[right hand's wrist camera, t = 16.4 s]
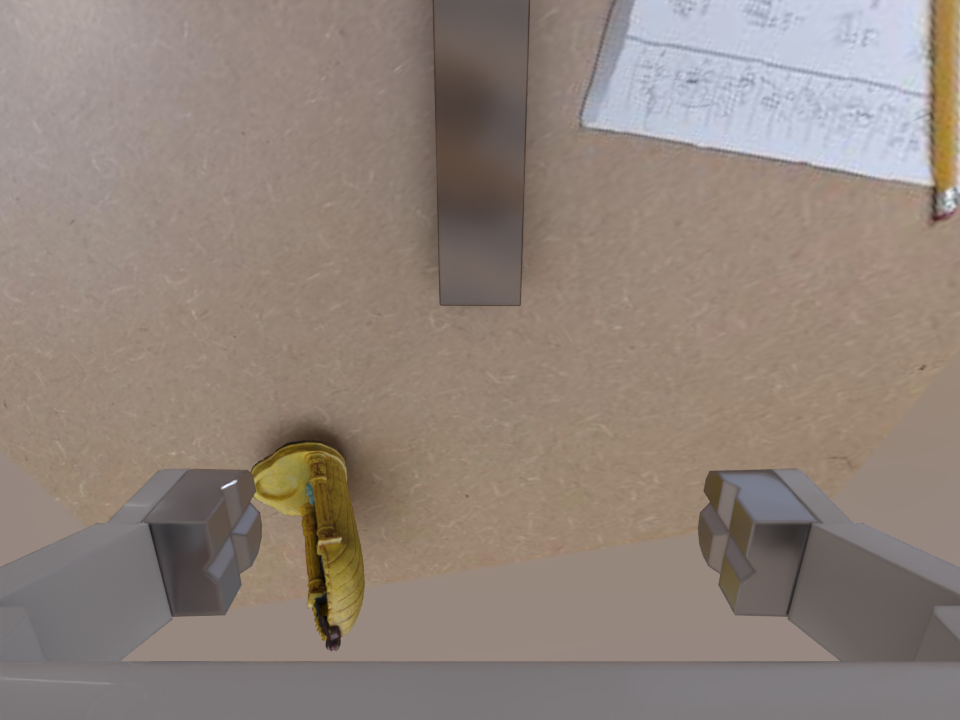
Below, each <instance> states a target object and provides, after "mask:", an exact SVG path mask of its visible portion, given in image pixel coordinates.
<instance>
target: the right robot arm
mask: <svg viewBox="0 0 960 720" xmlns="http://www.w3.org/2000/svg"><path fill="white" fill-rule="evenodd" d="M255 493H256V487H255V482H254V477H253V475H252V474H251V473H250V472H249V471H248V470H224V469H163V470H158V471H157V472H156V473H155V474H154V475H153V476H152V477H151V478H150V479H149V481H148V482H147V483H146V484H145V485H144V486H143V487H142V488H141V489H140V490H139V491H138V492H137V493H136V494H135V495H134V496H133V497H132V498H131V499H130V500H129V501H128V502H127V503H126V504H125V505H124V506H123V507H122V508H121V509H120V510H119V511H118V512H117V513H116V514H115V515H114V516H113V517H112V518H111V519H110V520H109V521H108V522H107V523H96V524H94V525H92V526H90V527H87V528H85V529H83V530H81V531H79V532H76V533H74V534H72V535H70V536H68V537H66V538H63V539H61V540H59V541H57V542H54V543H52V544H50V545H48V546H46V547H43V548H41V549H39V550H37V551H35V552H32V553H30V554H28V555H26V556H24V557H21V558H19V559H17V560H15V561H13V562H10V563H8V564H6V565H4V566H2V567H0V720H960V567H958V566H956V565H954V564H952V563H949V562H947V561H945V560H943V559H941V558H938V557H936V556H934V555H932V554H930V553H927V552H925V551H923V550H921V549H919V548H916V547H914V546H912V545H910V544H908V543H905V542H903V541H901V540H899V539H897V538H894V537H892V536H890V535H888V534H886V533H883V532H881V531H879V530H877V529H875V528H872V527H870V526H868V525H866V524H864V523H853V522H852V521H851V520H850V519H849V518H848V517H847V516H846V515H845V514H844V513H843V512H842V511H841V510H840V509H839V508H838V507H837V506H836V505H835V504H834V503H833V502H832V501H831V500H830V499H829V498H828V497H827V496H826V495H825V493H824V492H823V491H822V490H821V489H820V488H819V487H818V486H817V485H816V484H815V483H814V482H813V481H812V480H811V479H810V478H809V477H808V476H807V475H806V474H805V473H804V472H803V471H801V470H798V469H795V468H789V469H766V470H726V471H709V473H708V475H707V478H706V481H705V486H704V493H705V494H706V496H707V498H708V499H709V501H710V503H709V504H708V505H707V506H706V507H705V508H704V509H703V510H702V511H701V512H700V516H699V524H698V535H699V544H700V548H701V551H702V554H703V557H704V559H705V561H706V563H707V565H708V566H709V567H710V568H712V569H713V570H715V571H716V572H718V573H720V579H719V587H720V589H721V591H722V592H723V594H724V596H725V598H726V600H727V601H728V603H729V605H730V607H731V609H732V611H733V612H734V614H735V615H745V616H782V617H788V620H789V621H791V622H792V623H793V624H794V625H796V626H797V627H798V628H799V629H801V630H802V631H803V632H804V633H806V634H807V635H808V636H809V637H811V638H812V639H813V640H815V641H816V642H817V643H818V644H819V645H821V646H822V647H823V648H824V649H826V650H827V651H828V652H830V653H831V654H832V655H833V656H835V657H836V658H837V659H838V660H840V661H121V660H122V659H123V658H124V657H126V656H127V655H128V654H129V653H131V652H132V651H133V650H134V649H136V648H137V647H138V646H139V645H141V644H142V643H143V642H145V641H146V640H147V639H148V638H149V637H151V636H152V635H153V634H155V633H156V632H157V631H158V630H160V629H161V628H162V627H163V626H165V625H166V624H167V623H168V622H170V621H171V620H172V617H178V616H213V615H225V614H226V613H227V611H228V609H229V607H230V605H231V603H232V602H233V600H234V598H235V596H236V594H237V592H238V591H239V589H240V587H241V579H240V574H241V573H242V572H244V571H245V570H247V569H248V568H250V567H251V566H252V565H253V563H254V561H255V559H256V557H257V555H258V551H259V547H260V543H261V538H262V522H261V516H260V512H259V511H258V510H257V509H256V508H255V507H254V506H253V505H252V504H251V503H250V501H251V499H252V498H253V496H254V494H255Z"/></svg>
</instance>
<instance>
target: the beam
mask: <svg viewBox="0 0 960 720" xmlns="http://www.w3.org/2000/svg"><path fill="white" fill-rule="evenodd" d="M529 17H530V0H433V34H434V77H435V121H436V164H437V208H438V251H439V295H440V305H441V306H520V305H521V281H522V248H523V215H524V182H525V149H526V116H527V83H528V50H529Z"/></svg>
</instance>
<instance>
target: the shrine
mask: <svg viewBox="0 0 960 720" xmlns="http://www.w3.org/2000/svg"><path fill="white" fill-rule="evenodd" d="M251 474H252V475H253V477H254V482H255V487H256V493H255V494H254V496H253V497H254V498H255V499H256V500H258V501H260V502H262V503H264V504H266V505H270V506H272V507H273V508H275V509H277V510H278V511H279V512H280V513H282V514H285V515H297V516H302V518H303V520H302V526H303V535H304V536H305V548H306V549H305V552H306V564H307V574H308V578H309V583H308V585H307V587H308V588H309V593H308V603H307V608H310V607H312V610H313V612H314V616H315V619H314V620H315V622H316V627H318V629H317V631H318V632H319V635H321V637H322V640H324V641H326V648H327V649H328V650H331V651H332V650H335V651H337V650H338V649H339V647H340V641H341V640H340V638H341V637H342V636H344V635H345V634H346V633H347V632H349V631H350V629H351V628H352V627H353V625H354V623H355V621H356V619H357V617H358V614H359V612H360V609H361V606H362V601H363V594H364V587H365V586H364V583H365V581H364V565H363V556H362V551H361V544H360V540H359V535H358V531H357V527H356V522H355V518H354V513H353V507H352V504H351V500H350V496H349V491H348V486H347V467H346V464H345V458H344V456H343V454H342V453H341V452H340V451H339V449H338V448H337V447H334V446H332V445H330V444H328V443H326V442H321V441H298V442H290V443H287V444H285V445H284V446H282V447H280V448H279V449H277V450H276V451H275V452H274V453H273V454H272V455H270V456H268V457H266V458H264V459H263V460H261V461H258V463H256V464H255V465H254V466H253V468H252V470H251Z"/></svg>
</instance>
